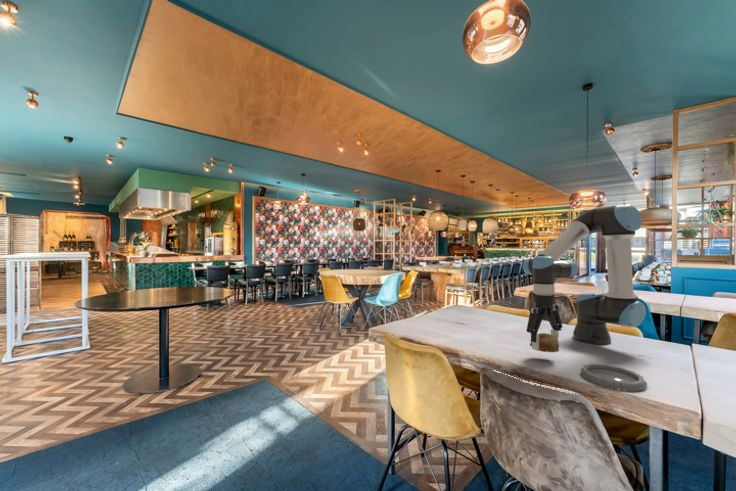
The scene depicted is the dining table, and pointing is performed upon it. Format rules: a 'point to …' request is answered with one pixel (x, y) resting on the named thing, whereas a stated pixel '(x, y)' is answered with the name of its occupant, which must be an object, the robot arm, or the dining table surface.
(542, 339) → the bread roll
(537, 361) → the dining table surface
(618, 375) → the slate plate
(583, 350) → the dining table surface
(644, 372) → the dining table surface
